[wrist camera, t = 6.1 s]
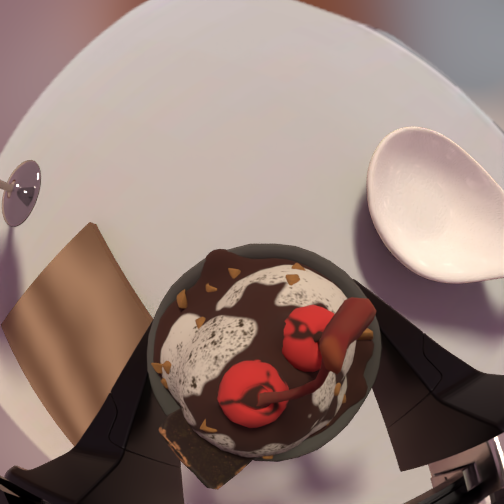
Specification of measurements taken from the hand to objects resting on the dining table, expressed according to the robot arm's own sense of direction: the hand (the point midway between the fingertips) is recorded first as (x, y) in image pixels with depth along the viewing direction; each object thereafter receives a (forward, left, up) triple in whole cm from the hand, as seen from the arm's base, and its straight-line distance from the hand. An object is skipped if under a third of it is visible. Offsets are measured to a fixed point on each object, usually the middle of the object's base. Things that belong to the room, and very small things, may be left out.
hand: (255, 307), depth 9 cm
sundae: (0, -1, -8) cm, 8 cm away
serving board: (-15, +1, -9) cm, 18 cm away
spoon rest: (+18, -5, -9) cm, 21 cm away
